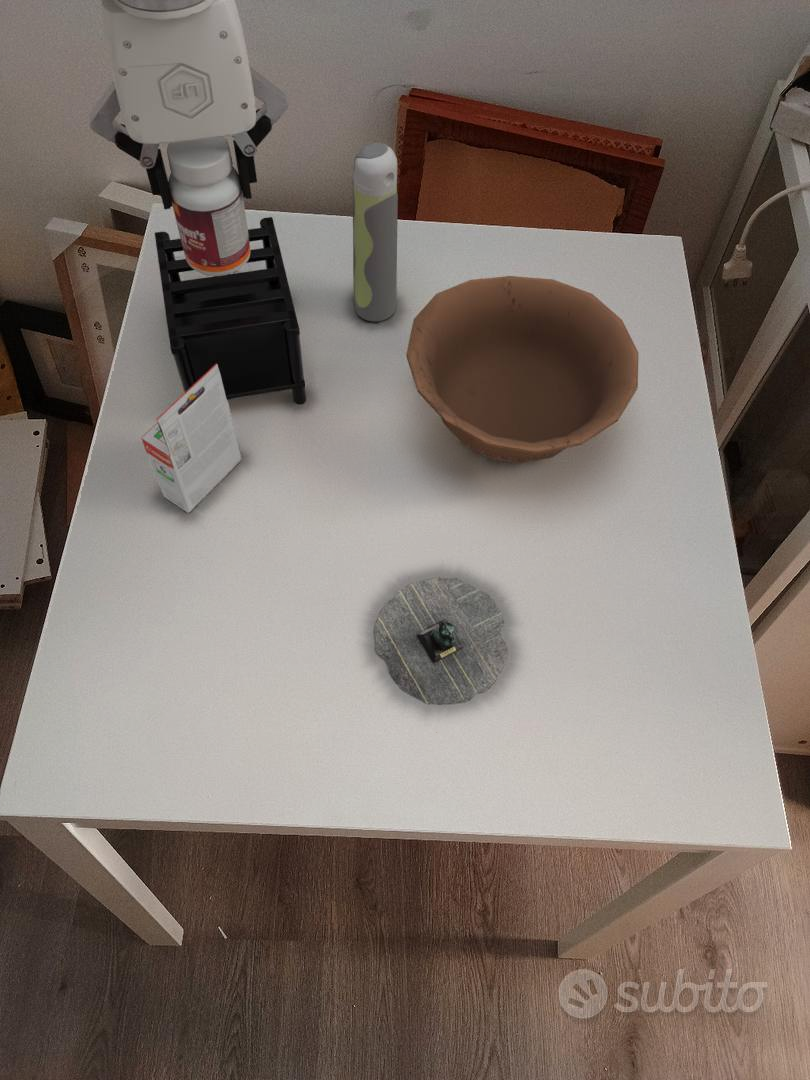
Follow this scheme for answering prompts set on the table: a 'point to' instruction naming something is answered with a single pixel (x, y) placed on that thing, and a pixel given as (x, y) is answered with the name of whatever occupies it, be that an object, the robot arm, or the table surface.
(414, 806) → the table surface
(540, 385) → the bowl
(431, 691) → the sculpture
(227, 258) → the pill bottle
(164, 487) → the ink box
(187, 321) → the rack
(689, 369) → the table surface
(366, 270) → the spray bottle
